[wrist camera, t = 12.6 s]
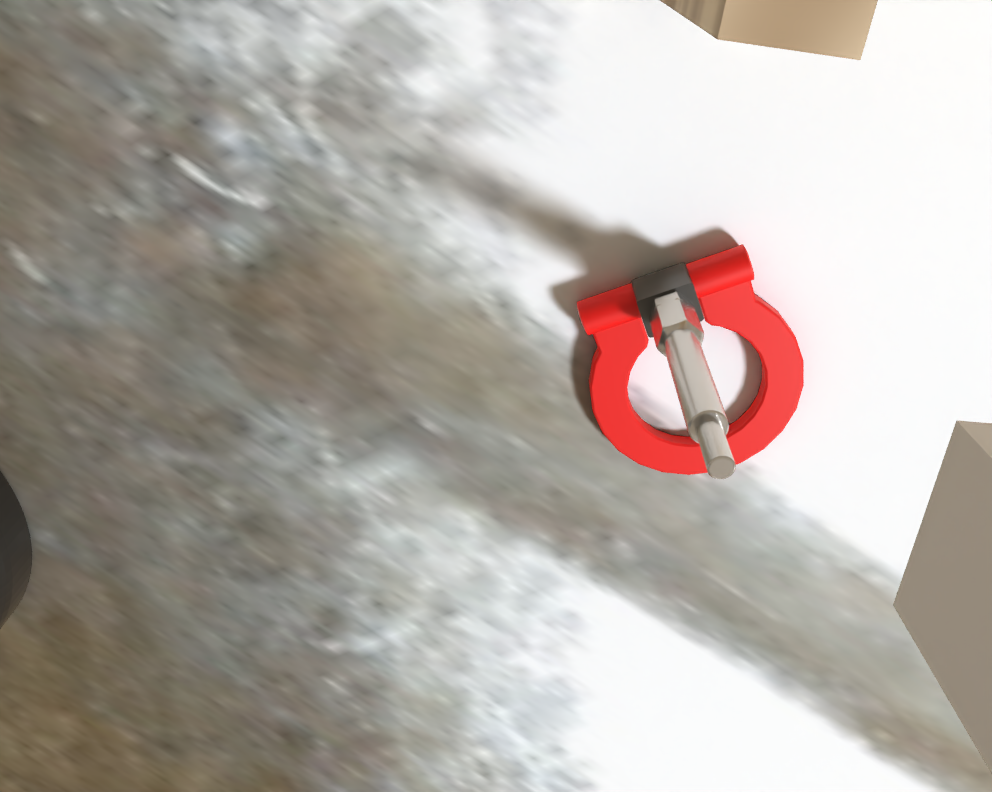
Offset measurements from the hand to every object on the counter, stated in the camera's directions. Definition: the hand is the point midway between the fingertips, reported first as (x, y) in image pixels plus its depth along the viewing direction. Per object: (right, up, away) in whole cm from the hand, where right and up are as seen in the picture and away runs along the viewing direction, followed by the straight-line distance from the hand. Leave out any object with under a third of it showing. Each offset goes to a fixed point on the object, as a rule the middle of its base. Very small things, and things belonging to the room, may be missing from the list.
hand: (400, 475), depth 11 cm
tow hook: (+9, +2, +27) cm, 29 cm away
